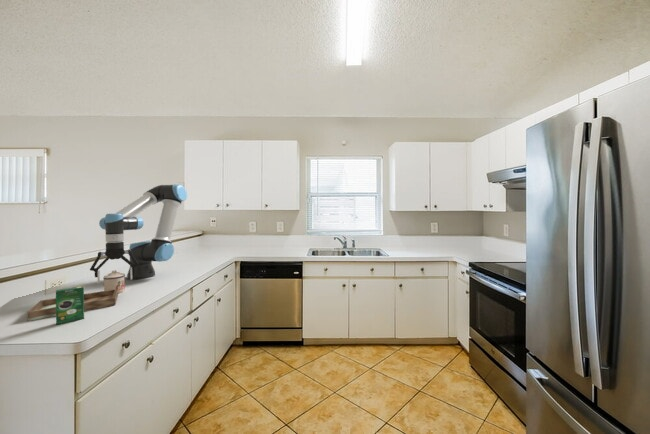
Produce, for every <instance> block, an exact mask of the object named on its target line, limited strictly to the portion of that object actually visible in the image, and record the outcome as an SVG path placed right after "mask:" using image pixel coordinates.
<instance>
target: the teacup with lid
mask: <svg viewBox="0 0 650 434" xmlns="http://www.w3.org/2000/svg"><path fill="white" fill-rule="evenodd" d="M125 278H126V274H125V273H123V272H119V271H117V270H112V271H111V272H110V273H108V274H107V275H104V276H103V278H102V279H103V291H107V290H113V289H118V294H121V293H123V292H125V291H126V279H125Z"/></svg>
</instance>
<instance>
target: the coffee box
mask: <svg viewBox="0 0 650 434" xmlns="http://www.w3.org/2000/svg"><path fill="white" fill-rule="evenodd" d="M84 292H85V288H84V286H83V285H81V286H74V287H73V286H72V287H67V288H60V289H56V290H55V298H56V316H55V321H56V322H55V323H56V325H60V324H61V325H62V324H65V323H69V322H74V321H79V320H82V319H84V320H85V311H84V294H85V293H84Z"/></svg>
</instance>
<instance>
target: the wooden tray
mask: <svg viewBox="0 0 650 434" xmlns="http://www.w3.org/2000/svg"><path fill="white" fill-rule="evenodd" d="M118 296H119V293H118V289H113V290H107V291H104V290H101V291H94V292H89V293H84V312H85V311H92V310H97V309H102V308H103V309H104V308H108V307H113V306H116V303H117V301H118ZM26 315H27V321H28V322H29V321H35V320H41V319H47V318H52V317H56V297H54V298H49V299H41V300H40V301H38V302H37V303H36V304H34V306H33V307H32V308H30V309H29V310H28V311H27V314H26Z"/></svg>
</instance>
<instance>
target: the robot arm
mask: <svg viewBox="0 0 650 434" xmlns="http://www.w3.org/2000/svg"><path fill="white" fill-rule="evenodd" d="M186 199H188V193H187V190H186V188H185V187H184V186H183V185H181V184H160V185H159V184H158V185H157V186H154V187H152V188H150V189H148V190H147V191H146V192H144V193H143V194H142V196H141V197H139V198H137V199H135V200H134V201H133V202H131V203H129V204H128V205H125V206H124V207H123V208H122V209H120V210H119V211H116V212H115V213H106V214H105V216H104V217H102V218H101V219H100V220H99V223H98V224H99V226H100V228H101V229H102V230H105V242H106V243H105V252H104V251H98V253H97V256H96V258H95V259H94V262H93V263H92V265H91V267H90V268H89V271H92V272H94V278H97V284H98V285H99V284H101V270H100V269H101V268H102V267H103V266H104V265H105V264H106V263H107V262H108V261H109V260H119V259H121V260H123V261H124V262H125V263H126V264H128V265H129V269H128V271H127V274H126V278H127V280H142V279H143V280H144V279H148V278H152V277H154V276H155V275H156V271H155V268H154V266H153V264H152V263H153V262H159V263H160V262H168V261H169V260H170V259H171V258H172V257H173V255H174V254H175V248H174V245H173V244H172V241H171V237H172V234H173V233H172V232H173V228H174V224H175V220H176V216H177V212H178V208H179V207H180V206H181V205H182V202H184V201H186ZM159 202H162V204H163V206H162V210H161V213H160V217H159V221H158V225H157V228H156V233H155V235H154V238H152V239H151V241H150V240H146V241H140V242H133V243H130V245H129V249H127V250H125V245H124V244H125V242H124V239H125V238H124V237H125V236H124V232H125V231H132V230H134V231H136V230H140V229H143V227H144V219H143V218H142V217H140V216H137V215H138V214H141V212H143V211H144V210H146V209H147V208H149V207H150V206H151V205H156V204H158V203H159ZM124 254H127V255H128V257H129V259H128V258H127V257H126V256H124ZM104 255H105V256H106V258H105V259H104V260H103V261H101V263H100V264H99V265H98V266H97V264H98V262H99V260H100V259H101V257H103V256H104ZM96 266H97V267H96ZM95 267H96V268H95Z"/></svg>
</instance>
